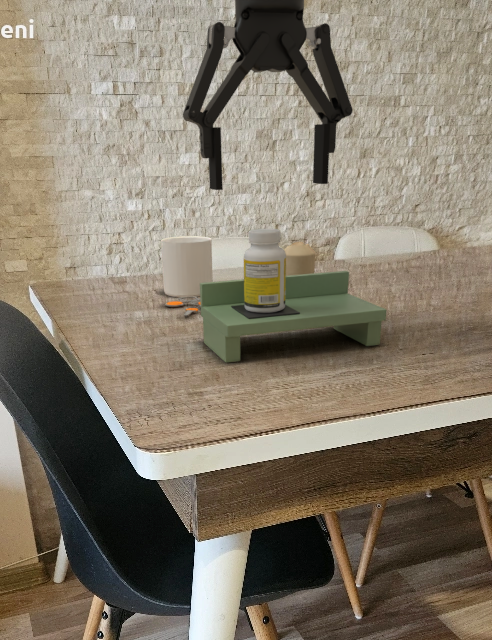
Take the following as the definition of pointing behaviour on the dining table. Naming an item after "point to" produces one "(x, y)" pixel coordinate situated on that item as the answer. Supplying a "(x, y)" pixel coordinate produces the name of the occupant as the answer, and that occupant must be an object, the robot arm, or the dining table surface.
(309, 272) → the candle
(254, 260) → the supplement bottle
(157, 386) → the dining table surface
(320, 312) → the green l-shaped stand
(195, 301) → the key chain
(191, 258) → the mug
